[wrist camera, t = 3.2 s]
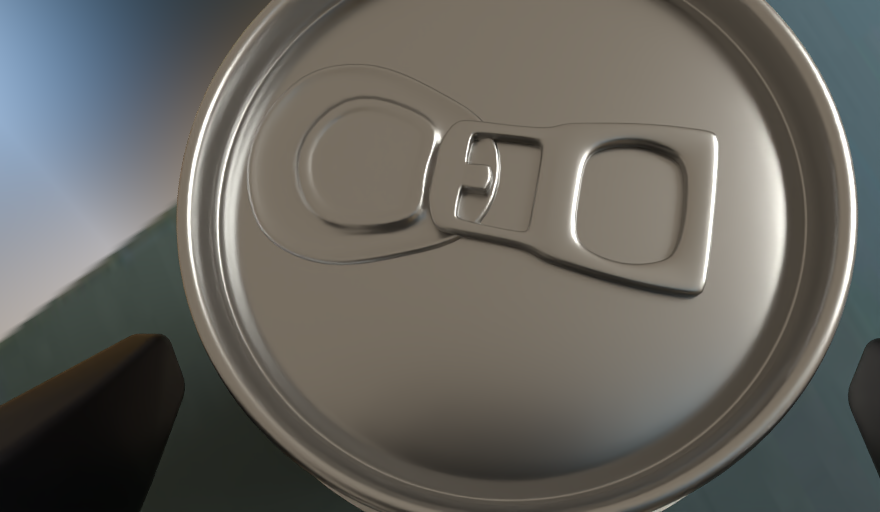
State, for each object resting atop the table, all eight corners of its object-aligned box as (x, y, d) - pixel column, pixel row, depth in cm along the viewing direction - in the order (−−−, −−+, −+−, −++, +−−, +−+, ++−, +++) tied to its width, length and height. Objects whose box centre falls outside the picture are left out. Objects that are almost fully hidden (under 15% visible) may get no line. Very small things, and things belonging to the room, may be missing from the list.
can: (409, 216, 18) (245, -159, 6) (627, 252, 17) (923, -111, 5) (360, 434, 16) (11, 492, 4) (597, 487, 15) (926, 727, 4)
